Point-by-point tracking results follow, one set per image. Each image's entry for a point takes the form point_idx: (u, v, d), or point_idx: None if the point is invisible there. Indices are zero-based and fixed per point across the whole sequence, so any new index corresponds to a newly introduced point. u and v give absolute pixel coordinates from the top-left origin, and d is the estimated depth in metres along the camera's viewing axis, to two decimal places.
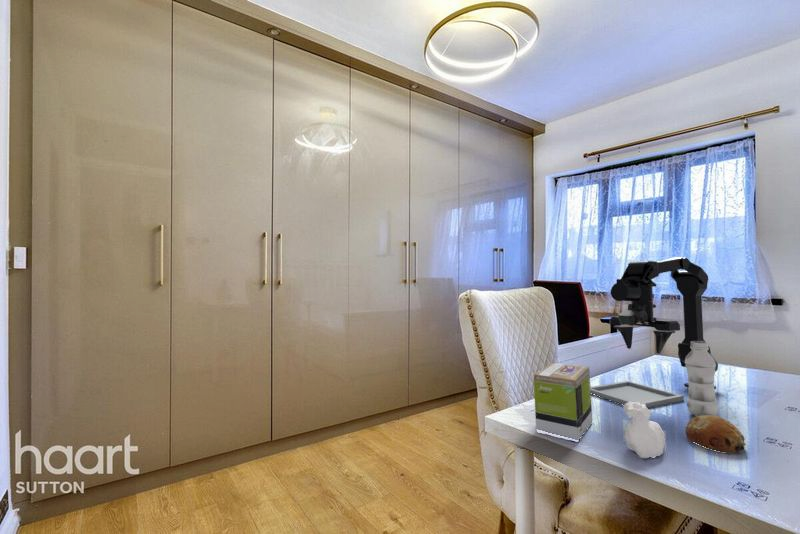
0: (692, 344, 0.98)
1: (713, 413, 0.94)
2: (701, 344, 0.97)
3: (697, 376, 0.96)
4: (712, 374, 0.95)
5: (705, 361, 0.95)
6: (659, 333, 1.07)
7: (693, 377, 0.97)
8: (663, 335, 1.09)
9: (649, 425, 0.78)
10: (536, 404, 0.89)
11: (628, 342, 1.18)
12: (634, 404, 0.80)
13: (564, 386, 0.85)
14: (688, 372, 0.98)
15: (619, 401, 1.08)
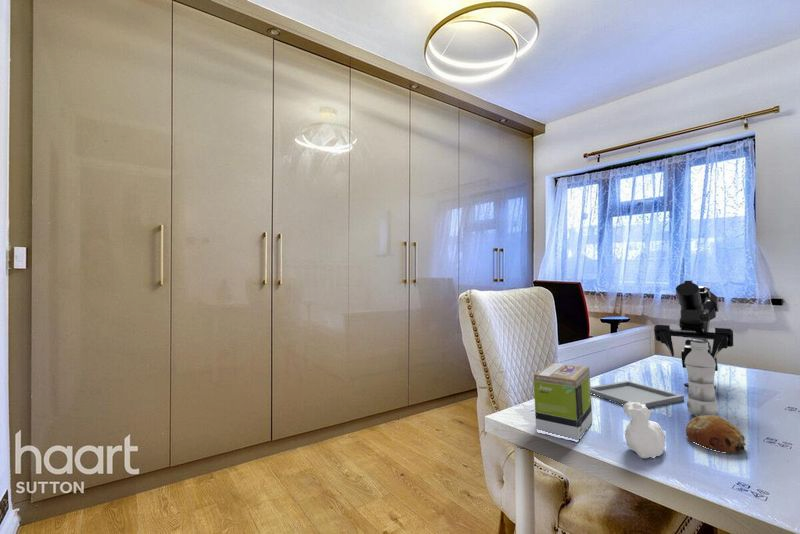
0: (692, 344, 0.98)
1: (713, 413, 0.94)
2: (701, 344, 0.97)
3: (697, 376, 0.96)
4: (712, 374, 0.95)
5: (705, 361, 0.95)
6: (721, 337, 1.05)
7: (693, 377, 0.97)
8: None
9: (649, 425, 0.78)
10: (536, 404, 0.89)
11: None
12: (634, 404, 0.80)
13: (564, 386, 0.85)
14: (688, 372, 0.98)
15: (619, 401, 1.08)
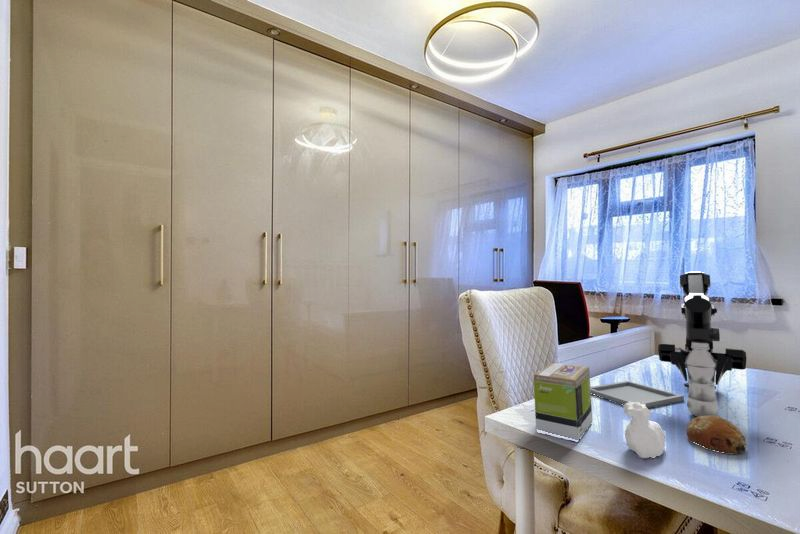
0: (693, 344, 0.98)
1: (713, 413, 0.94)
2: (702, 344, 0.96)
3: (697, 375, 0.96)
4: (713, 374, 0.95)
5: (706, 361, 0.95)
6: (725, 358, 0.96)
7: (693, 377, 0.97)
8: None
9: (649, 425, 0.78)
10: (536, 404, 0.89)
11: None
12: (634, 404, 0.80)
13: (564, 386, 0.85)
14: (688, 372, 0.98)
15: (619, 401, 1.08)
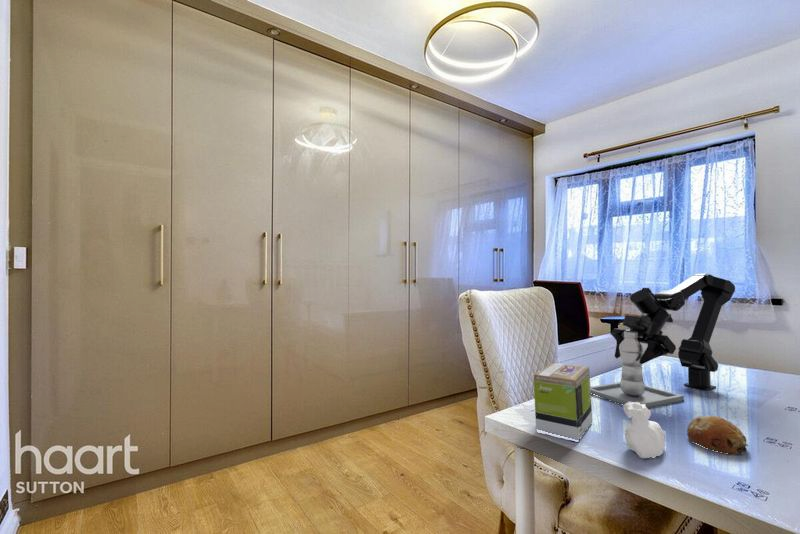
0: (624, 333, 1.16)
1: (633, 391, 1.12)
2: (627, 332, 1.14)
3: (622, 358, 1.15)
4: (634, 358, 1.12)
5: (628, 347, 1.13)
6: (652, 342, 1.10)
7: (621, 360, 1.16)
8: (654, 351, 1.11)
9: (649, 425, 0.78)
10: (536, 404, 0.89)
11: (618, 352, 1.19)
12: (634, 404, 0.80)
13: (564, 386, 0.85)
14: None
15: (619, 401, 1.08)
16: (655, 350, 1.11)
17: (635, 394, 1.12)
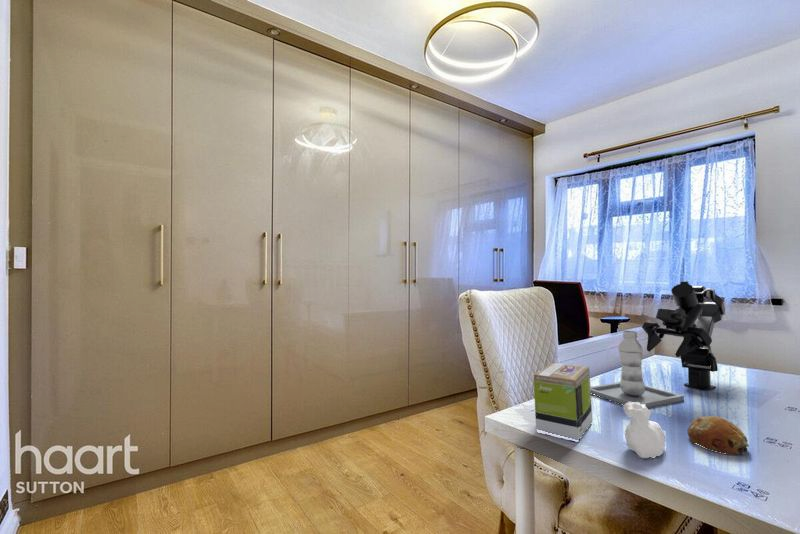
0: (623, 333, 1.17)
1: (633, 391, 1.12)
2: (626, 332, 1.15)
3: (622, 358, 1.15)
4: (634, 358, 1.13)
5: (627, 347, 1.14)
6: (689, 335, 1.09)
7: (621, 360, 1.16)
8: (690, 344, 1.11)
9: (649, 425, 0.78)
10: (536, 404, 0.89)
11: (650, 345, 1.19)
12: (634, 404, 0.80)
13: (564, 386, 0.85)
14: None
15: (619, 401, 1.08)
16: (691, 343, 1.11)
17: (635, 394, 1.12)
